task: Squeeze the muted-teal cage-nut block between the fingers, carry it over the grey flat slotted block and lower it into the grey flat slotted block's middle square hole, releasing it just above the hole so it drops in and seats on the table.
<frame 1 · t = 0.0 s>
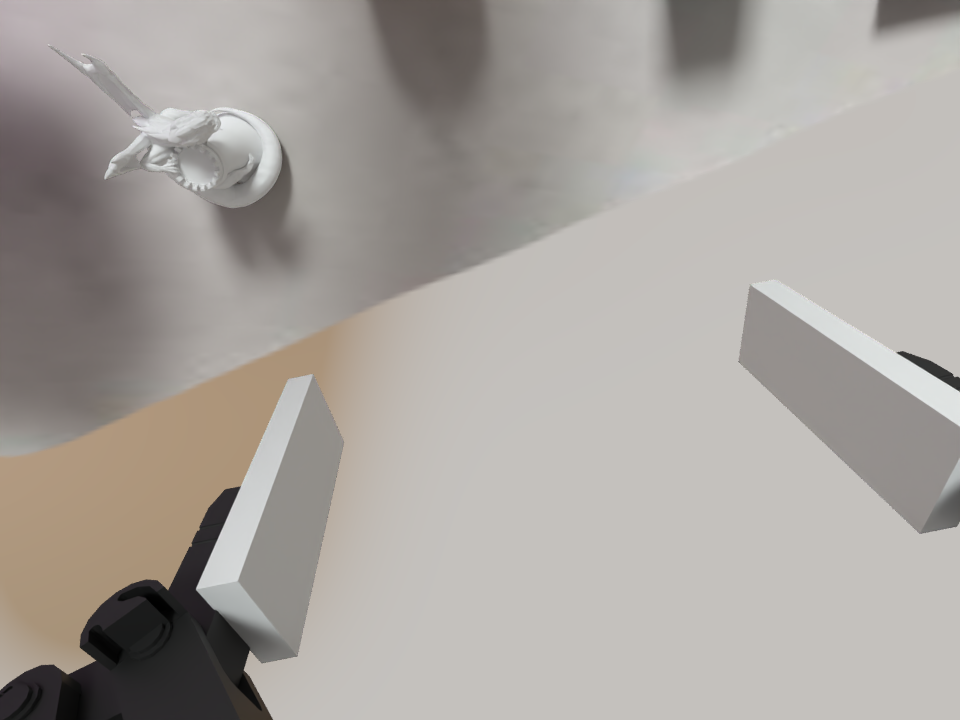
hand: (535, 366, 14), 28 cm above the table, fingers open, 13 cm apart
figurine: (218, 125, 35), on the table
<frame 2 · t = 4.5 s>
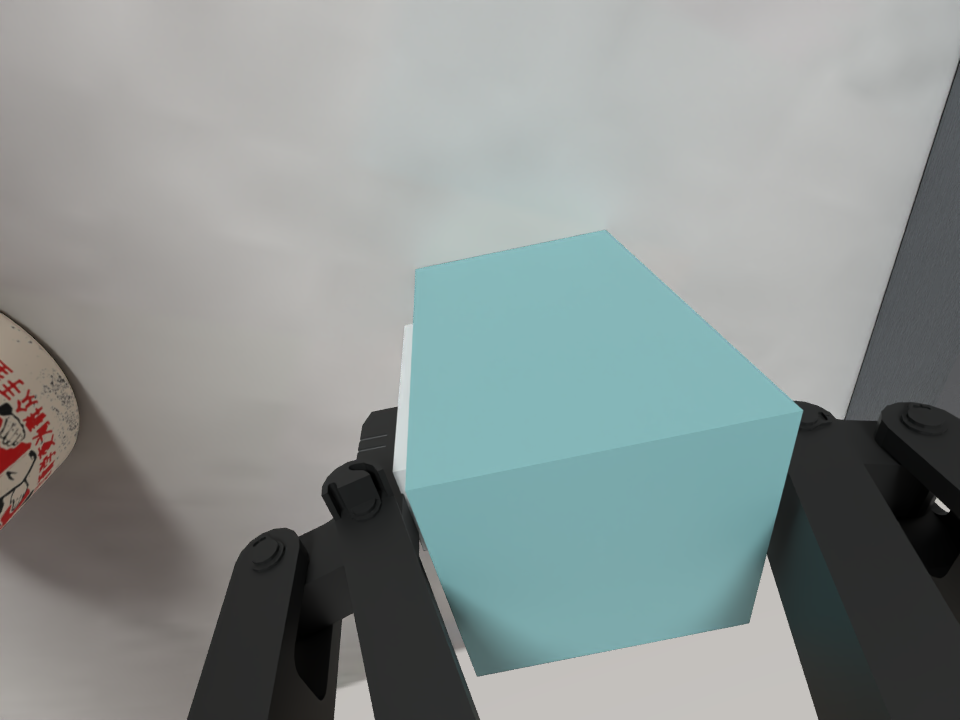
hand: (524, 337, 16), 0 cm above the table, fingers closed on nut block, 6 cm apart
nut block: (522, 332, 16), on the table, touching gripper
when the fingers open (4 cm above the table, at t = 10.0 s): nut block drops 4 cm, resting in grey flat slotted block.
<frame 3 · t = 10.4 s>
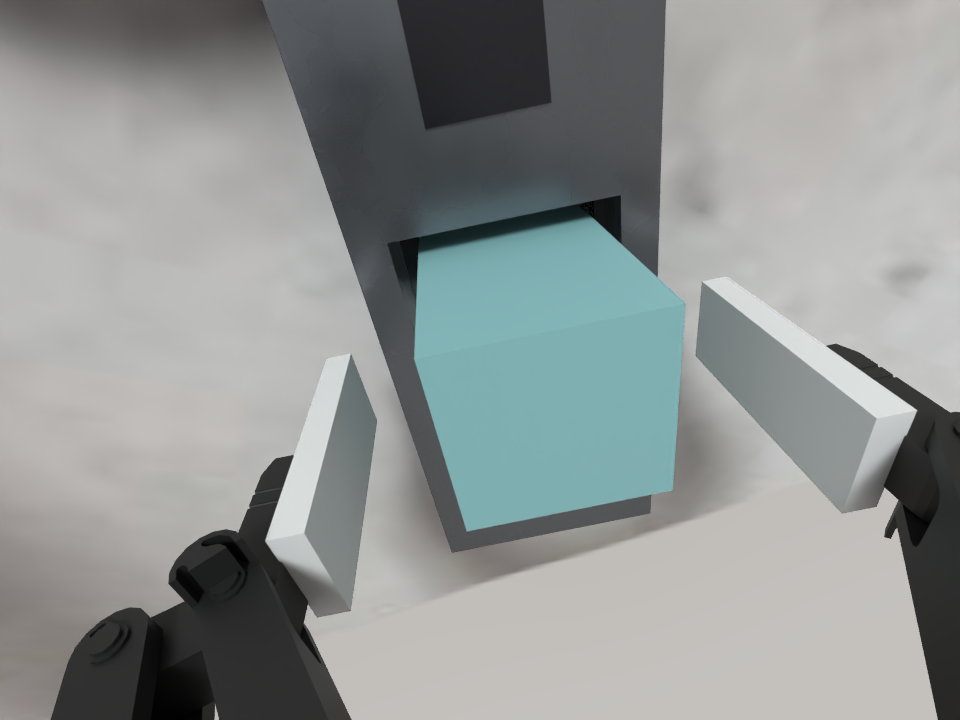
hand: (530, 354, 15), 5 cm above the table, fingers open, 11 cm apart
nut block: (507, 289, 19), resting in grey flat slotted block
grey flat slotted block: (507, 289, 19), on the table
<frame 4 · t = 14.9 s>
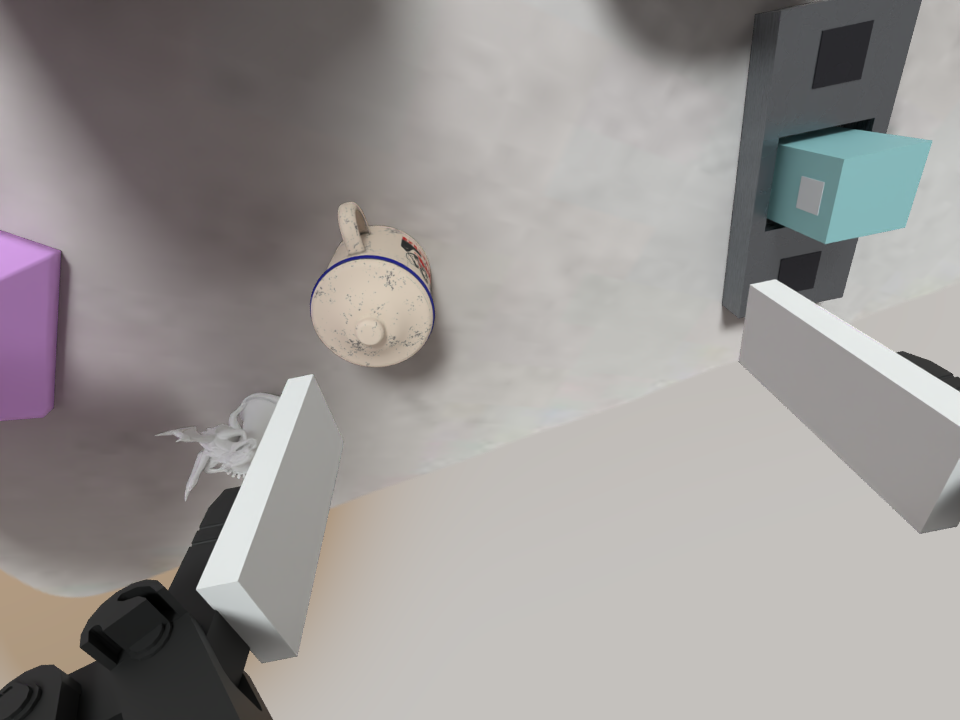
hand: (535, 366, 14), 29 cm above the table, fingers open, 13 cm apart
figurine: (251, 398, 48), on the table
teacup with lid: (377, 256, 42), on the table
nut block: (792, 171, 41), resting in grey flat slotted block
grey flat slotted block: (792, 170, 41), on the table
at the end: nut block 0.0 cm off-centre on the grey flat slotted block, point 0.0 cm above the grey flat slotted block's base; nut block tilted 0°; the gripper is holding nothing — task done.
